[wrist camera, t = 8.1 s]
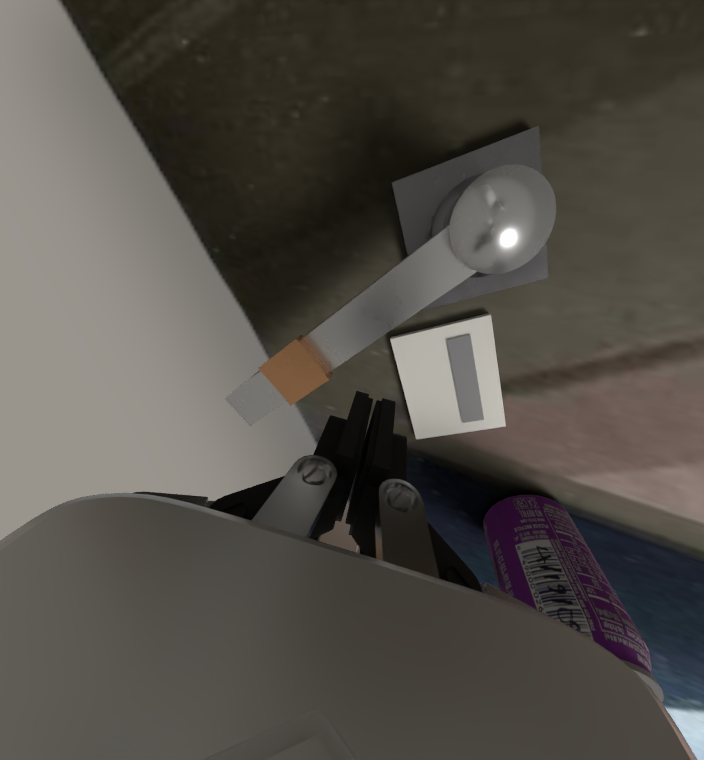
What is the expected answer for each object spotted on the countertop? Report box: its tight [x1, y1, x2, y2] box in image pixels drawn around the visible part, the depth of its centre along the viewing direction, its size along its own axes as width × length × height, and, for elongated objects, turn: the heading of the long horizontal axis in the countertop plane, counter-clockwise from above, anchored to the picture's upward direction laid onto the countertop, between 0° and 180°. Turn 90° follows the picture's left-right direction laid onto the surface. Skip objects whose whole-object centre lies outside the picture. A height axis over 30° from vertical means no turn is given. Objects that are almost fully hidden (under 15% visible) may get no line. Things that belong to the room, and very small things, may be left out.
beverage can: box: [483, 495, 664, 703], centre depth 22 cm, size 7×7×12 cm
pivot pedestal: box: [392, 126, 548, 311], centre depth 18 cm, size 8×8×4 cm
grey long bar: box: [225, 164, 556, 426], centre depth 17 cm, size 20×4×4 cm, turn 127°
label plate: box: [390, 313, 506, 439], centre depth 23 cm, size 9×7×1 cm
